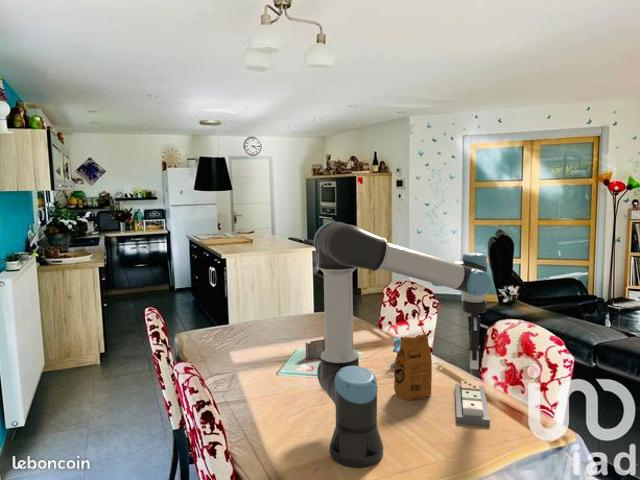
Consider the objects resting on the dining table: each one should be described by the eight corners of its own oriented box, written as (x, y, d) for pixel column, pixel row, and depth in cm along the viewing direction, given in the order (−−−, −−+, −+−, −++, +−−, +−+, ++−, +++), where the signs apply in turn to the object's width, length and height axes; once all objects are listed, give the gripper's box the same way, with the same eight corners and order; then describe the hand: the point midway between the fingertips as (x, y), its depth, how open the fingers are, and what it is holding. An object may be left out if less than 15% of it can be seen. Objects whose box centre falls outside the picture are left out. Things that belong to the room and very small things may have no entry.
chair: (413, 363, 205) (414, 335, 204) (408, 369, 197) (409, 341, 196) (396, 360, 208) (396, 333, 207) (390, 367, 200) (390, 339, 199)
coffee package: (390, 391, 177) (390, 333, 174) (420, 386, 181) (420, 329, 178) (404, 403, 167) (404, 341, 165) (434, 397, 172) (435, 337, 169)
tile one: (482, 417, 153) (482, 409, 153) (463, 415, 154) (463, 407, 154) (481, 408, 159) (481, 401, 158) (462, 407, 160) (462, 399, 160)
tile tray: (489, 426, 151) (489, 420, 150) (456, 422, 153) (456, 416, 153) (483, 391, 176) (483, 386, 175) (455, 389, 178) (455, 383, 178)
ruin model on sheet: (328, 354, 218) (328, 333, 217) (331, 356, 215) (331, 335, 214) (305, 358, 213) (305, 337, 212) (308, 360, 210) (307, 339, 209)
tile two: (480, 406, 161) (481, 398, 160) (462, 404, 162) (462, 396, 162) (479, 398, 166) (479, 390, 166) (461, 396, 168) (461, 389, 168)
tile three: (479, 395, 168) (479, 388, 168) (461, 394, 170) (461, 386, 169) (478, 388, 174) (478, 381, 174) (460, 387, 176) (461, 380, 175)
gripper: (488, 305, 152) (487, 376, 155) (485, 295, 164) (484, 361, 167) (463, 304, 154) (463, 375, 157) (462, 294, 166) (462, 360, 169)
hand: (474, 368), depth 162 cm, fingers closed
